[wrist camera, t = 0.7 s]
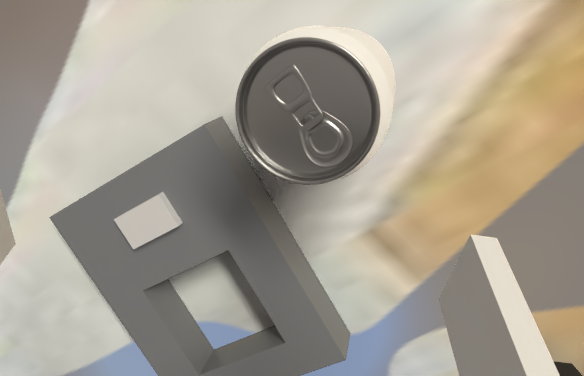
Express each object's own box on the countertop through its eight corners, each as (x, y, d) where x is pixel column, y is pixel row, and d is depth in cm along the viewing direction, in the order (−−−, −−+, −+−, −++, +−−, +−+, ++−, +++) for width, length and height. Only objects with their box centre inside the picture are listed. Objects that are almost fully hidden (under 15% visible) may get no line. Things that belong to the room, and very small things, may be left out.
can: (329, 154, 31) (289, 223, 19) (270, 71, 30) (192, 94, 19) (416, 95, 28) (427, 136, 17) (355, 4, 28) (324, -16, 16)
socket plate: (350, 333, 34) (344, 365, 31) (200, 387, 39) (181, 420, 36) (222, 116, 31) (200, 126, 28) (76, 203, 36) (43, 220, 33)
